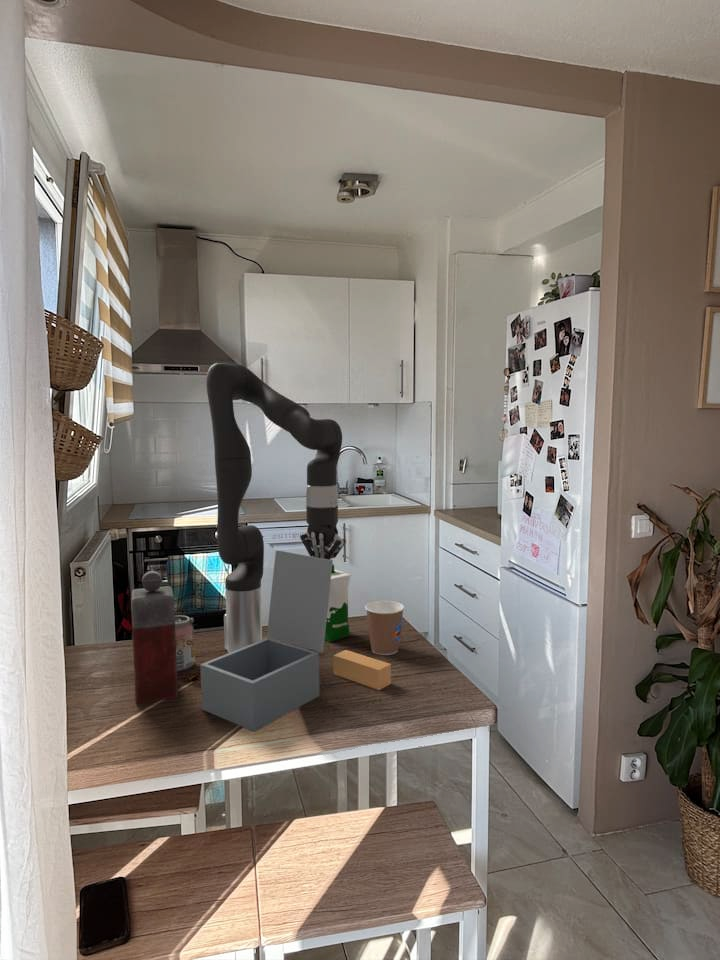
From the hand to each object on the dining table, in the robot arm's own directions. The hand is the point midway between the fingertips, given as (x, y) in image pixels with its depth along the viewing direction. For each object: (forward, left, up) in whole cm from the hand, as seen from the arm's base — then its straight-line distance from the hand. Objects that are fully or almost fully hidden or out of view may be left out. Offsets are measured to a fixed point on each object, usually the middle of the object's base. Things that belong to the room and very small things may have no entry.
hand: (323, 575), depth 156 cm
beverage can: (-32, -19, -24) cm, 44 cm away
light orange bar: (+10, +2, -24) cm, 26 cm away
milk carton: (-14, +20, -24) cm, 34 cm away
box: (0, -21, -24) cm, 32 cm away
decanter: (-24, -31, -24) cm, 46 cm away
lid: (0, -9, -4) cm, 10 cm away
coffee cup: (+4, +20, -24) cm, 32 cm away
